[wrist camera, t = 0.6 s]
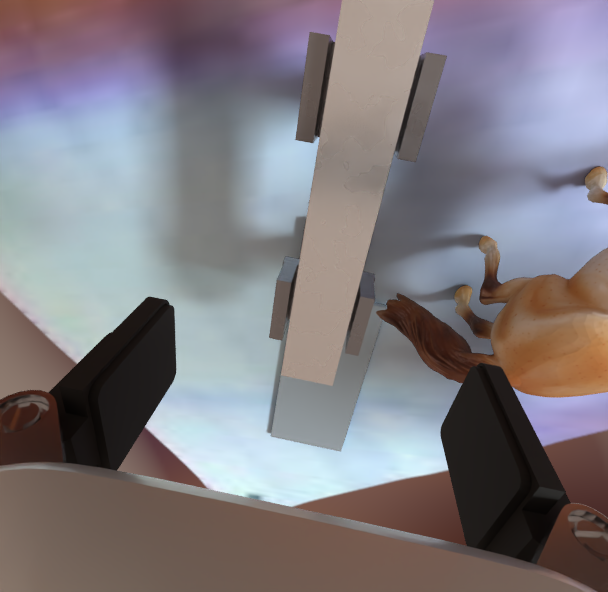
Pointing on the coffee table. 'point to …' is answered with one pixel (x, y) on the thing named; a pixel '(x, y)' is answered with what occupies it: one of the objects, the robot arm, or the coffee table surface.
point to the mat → (325, 397)
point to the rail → (351, 173)
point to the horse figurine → (524, 324)
